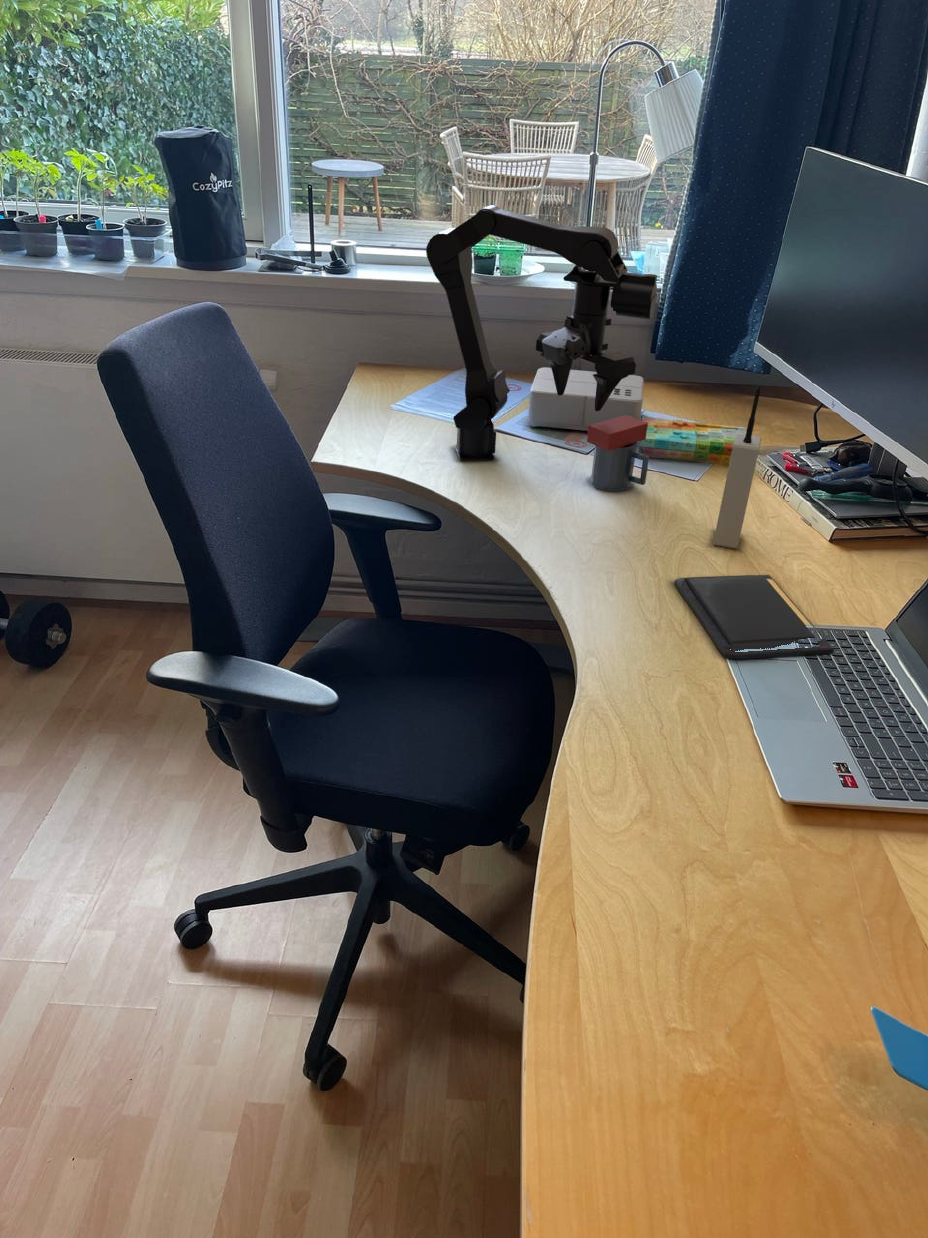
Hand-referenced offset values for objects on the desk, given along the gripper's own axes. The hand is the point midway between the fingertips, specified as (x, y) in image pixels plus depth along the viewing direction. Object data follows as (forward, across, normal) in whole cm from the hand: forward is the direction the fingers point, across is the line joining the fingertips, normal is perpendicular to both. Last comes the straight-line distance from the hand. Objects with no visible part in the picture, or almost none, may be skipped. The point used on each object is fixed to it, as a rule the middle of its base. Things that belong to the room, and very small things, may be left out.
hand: (578, 402), depth 160 cm
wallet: (+12, +50, -15) cm, 54 cm away
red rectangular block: (+5, +8, +2) cm, 9 cm away
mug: (+13, +10, +2) cm, 16 cm away
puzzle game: (+13, +7, +26) cm, 30 cm away
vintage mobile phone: (+12, +34, +1) cm, 36 cm away
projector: (+13, -18, +21) cm, 30 cm away
